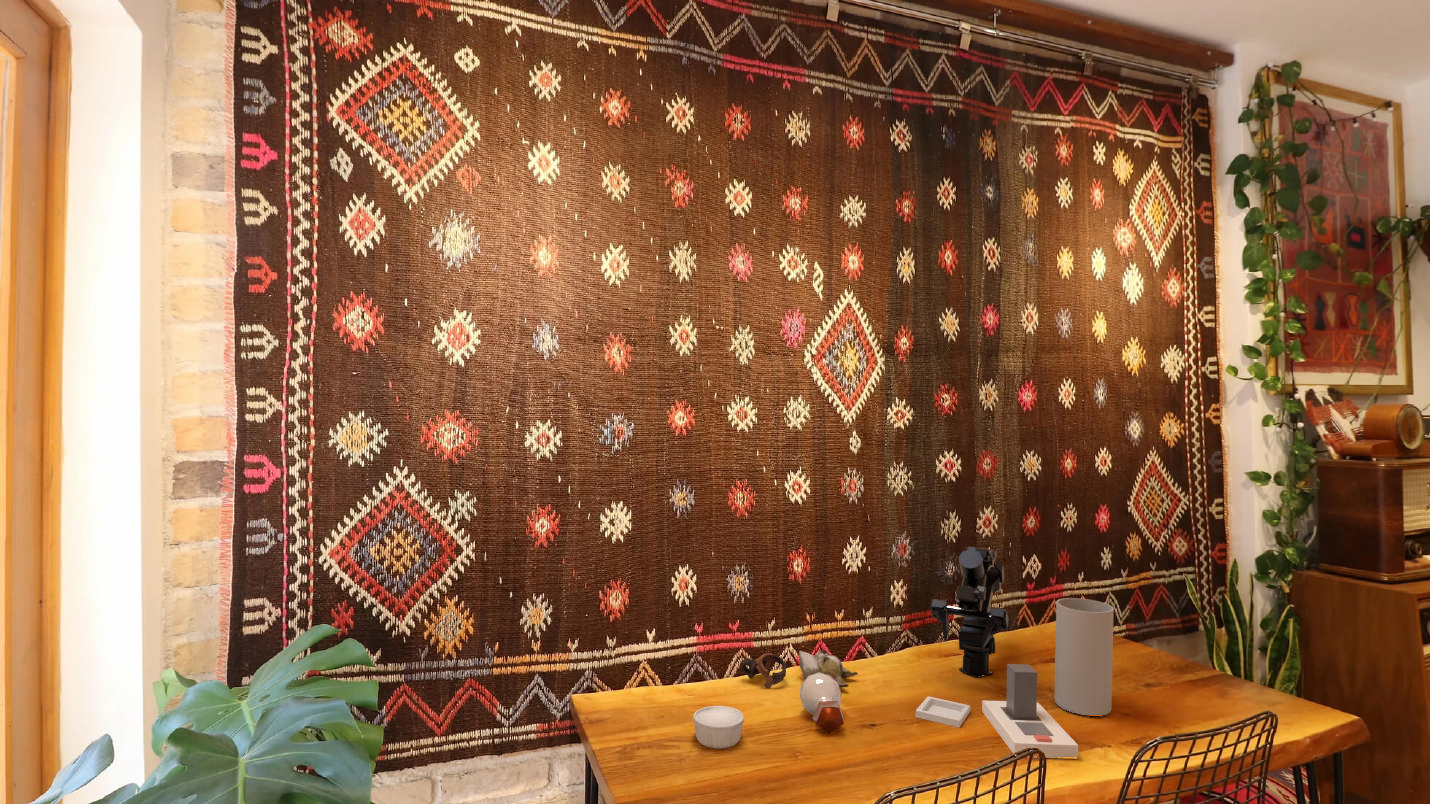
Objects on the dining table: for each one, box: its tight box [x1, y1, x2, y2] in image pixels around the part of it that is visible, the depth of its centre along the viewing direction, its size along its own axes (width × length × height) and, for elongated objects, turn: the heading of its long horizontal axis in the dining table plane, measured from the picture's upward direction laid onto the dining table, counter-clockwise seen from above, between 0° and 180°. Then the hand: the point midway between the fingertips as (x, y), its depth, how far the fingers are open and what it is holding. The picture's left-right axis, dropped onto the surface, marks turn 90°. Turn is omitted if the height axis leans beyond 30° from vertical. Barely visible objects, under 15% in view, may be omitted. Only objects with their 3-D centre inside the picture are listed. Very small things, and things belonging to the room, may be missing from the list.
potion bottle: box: [799, 672, 845, 734], centre depth 175 cm, size 10×10×15 cm
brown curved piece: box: [739, 652, 787, 689], centre depth 197 cm, size 12×10×8 cm
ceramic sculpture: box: [798, 650, 859, 689], centre depth 197 cm, size 11×9×15 cm
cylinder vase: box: [1054, 597, 1115, 716], centre depth 184 cm, size 12×12×25 cm
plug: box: [1005, 663, 1038, 721], centre depth 172 cm, size 5×5×13 cm
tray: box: [915, 696, 971, 728], centre depth 177 cm, size 10×10×2 cm
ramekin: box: [692, 705, 745, 750], centre depth 164 cm, size 11×11×5 cm
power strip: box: [981, 699, 1079, 759], centre depth 168 cm, size 22×13×4 cm, turn 177°
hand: (963, 643), depth 189 cm, fingers open, 9 cm apart
